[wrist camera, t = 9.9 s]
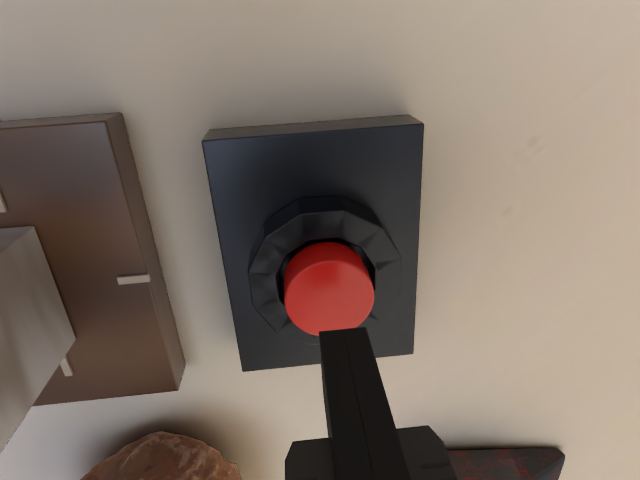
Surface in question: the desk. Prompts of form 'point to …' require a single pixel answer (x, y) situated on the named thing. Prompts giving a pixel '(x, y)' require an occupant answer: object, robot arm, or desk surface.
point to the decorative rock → (165, 461)
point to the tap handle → (27, 326)
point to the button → (327, 288)
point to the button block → (316, 224)
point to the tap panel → (93, 253)
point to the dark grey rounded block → (507, 464)
